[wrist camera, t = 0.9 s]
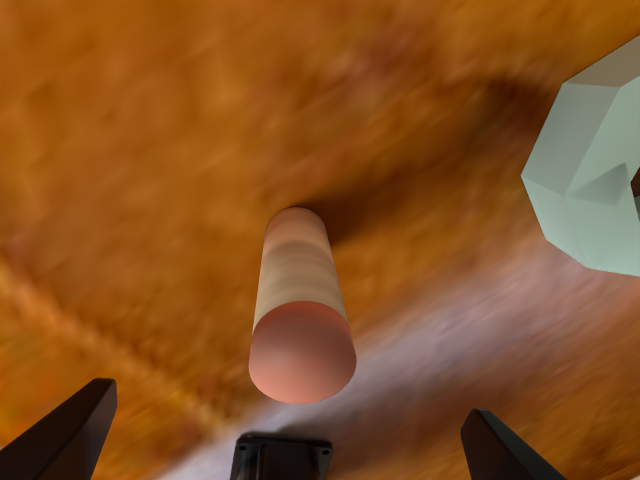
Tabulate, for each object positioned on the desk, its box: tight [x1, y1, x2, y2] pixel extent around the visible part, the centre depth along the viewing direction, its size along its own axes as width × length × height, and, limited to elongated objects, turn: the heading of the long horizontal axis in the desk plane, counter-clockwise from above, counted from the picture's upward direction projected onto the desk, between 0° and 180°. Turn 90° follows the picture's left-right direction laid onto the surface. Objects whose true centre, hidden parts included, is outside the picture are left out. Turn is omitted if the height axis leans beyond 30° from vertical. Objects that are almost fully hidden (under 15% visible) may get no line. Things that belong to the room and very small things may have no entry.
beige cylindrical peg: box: [249, 207, 356, 404], centre depth 14 cm, size 3×3×8 cm
